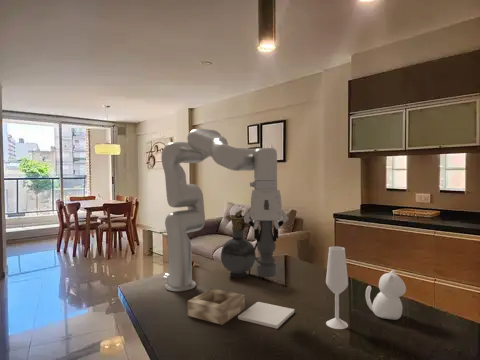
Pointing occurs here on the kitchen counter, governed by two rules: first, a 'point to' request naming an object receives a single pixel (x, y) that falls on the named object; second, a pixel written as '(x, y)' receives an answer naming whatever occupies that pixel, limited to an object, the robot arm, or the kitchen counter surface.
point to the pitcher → (238, 249)
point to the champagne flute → (337, 281)
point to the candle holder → (266, 248)
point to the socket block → (216, 306)
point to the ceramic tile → (266, 314)
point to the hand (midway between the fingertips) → (266, 240)
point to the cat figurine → (387, 296)
